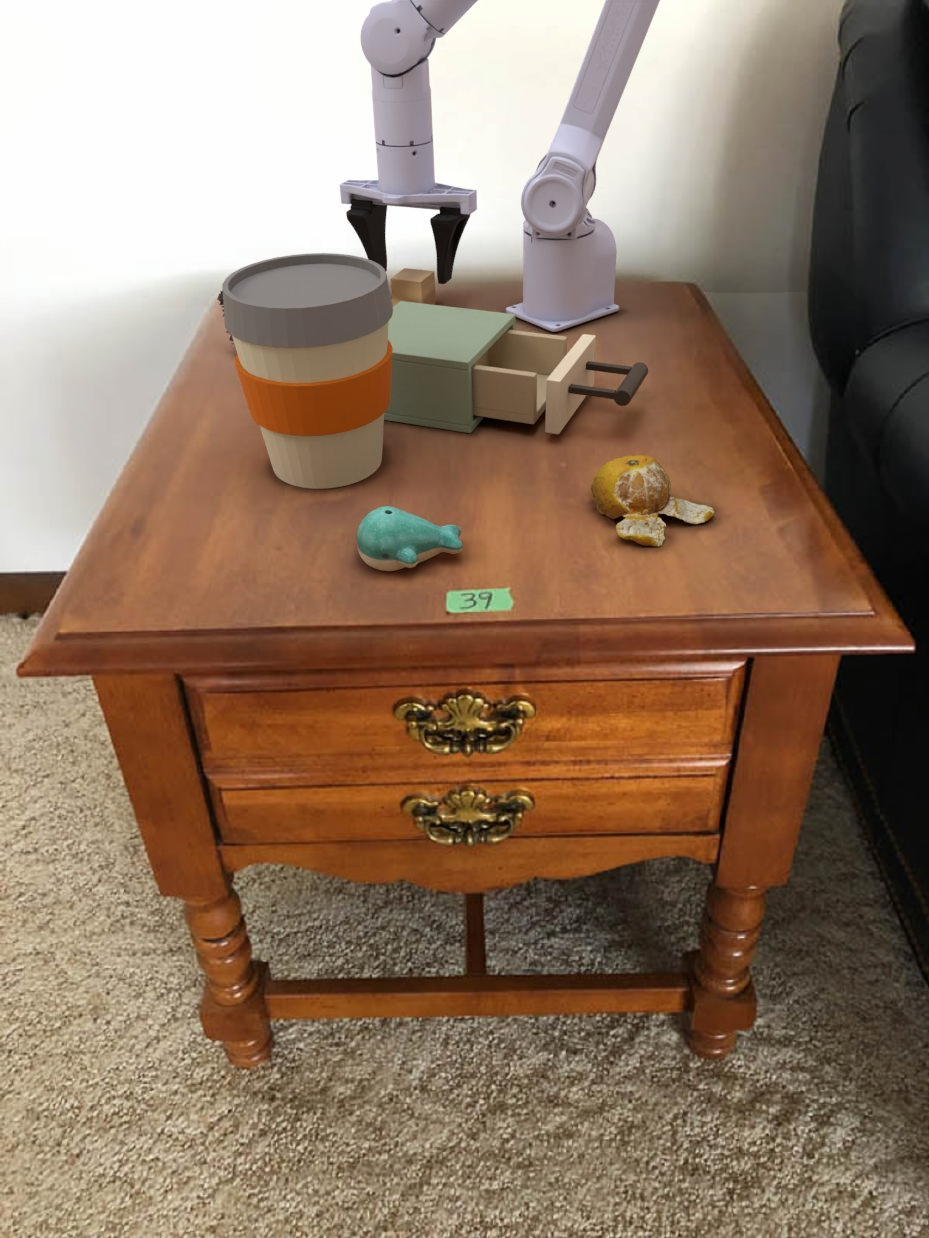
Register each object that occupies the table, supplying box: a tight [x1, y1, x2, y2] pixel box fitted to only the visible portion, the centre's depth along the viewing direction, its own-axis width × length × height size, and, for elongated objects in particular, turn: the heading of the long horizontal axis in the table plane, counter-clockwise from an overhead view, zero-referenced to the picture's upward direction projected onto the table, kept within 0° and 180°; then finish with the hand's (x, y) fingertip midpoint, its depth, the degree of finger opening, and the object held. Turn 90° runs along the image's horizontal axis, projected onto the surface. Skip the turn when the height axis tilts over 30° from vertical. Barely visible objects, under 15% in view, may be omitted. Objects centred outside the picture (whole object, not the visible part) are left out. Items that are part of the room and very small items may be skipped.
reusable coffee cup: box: [221, 252, 393, 490], centre depth 80 cm, size 13×13×15 cm
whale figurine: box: [356, 505, 464, 572], centre depth 71 cm, size 6×7×4 cm
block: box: [390, 267, 437, 307], centre depth 111 cm, size 4×4×4 cm
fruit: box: [590, 454, 715, 547], centre depth 75 cm, size 8×8×4 cm
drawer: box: [471, 329, 649, 435], centre depth 88 cm, size 16×10×5 cm, turn 68°
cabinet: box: [384, 301, 517, 434], centre depth 92 cm, size 11×11×6 cm
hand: (412, 277), depth 110 cm, fingers open, 7 cm apart
